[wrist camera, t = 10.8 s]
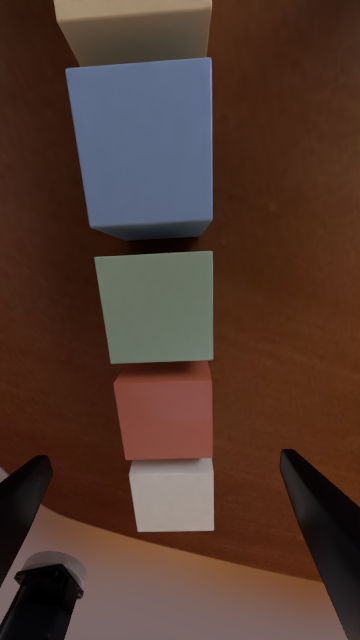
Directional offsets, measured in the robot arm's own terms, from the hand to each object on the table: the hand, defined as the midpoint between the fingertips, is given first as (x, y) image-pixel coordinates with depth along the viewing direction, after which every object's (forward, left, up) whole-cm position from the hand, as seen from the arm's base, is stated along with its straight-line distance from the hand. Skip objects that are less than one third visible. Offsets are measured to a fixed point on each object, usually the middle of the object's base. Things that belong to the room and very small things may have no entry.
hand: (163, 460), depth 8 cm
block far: (-2, -5, -6) cm, 9 cm away
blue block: (+3, +10, -6) cm, 13 cm away
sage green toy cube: (+1, +5, -6) cm, 8 cm away
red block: (0, 0, -6) cm, 7 cm away
